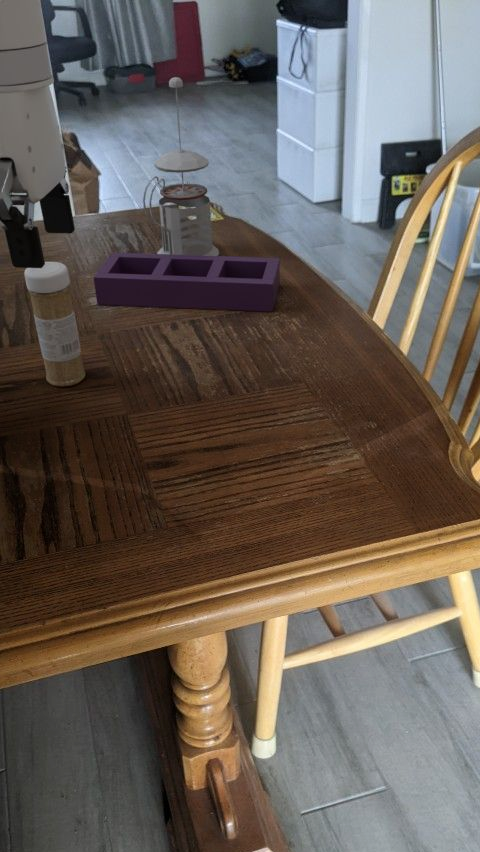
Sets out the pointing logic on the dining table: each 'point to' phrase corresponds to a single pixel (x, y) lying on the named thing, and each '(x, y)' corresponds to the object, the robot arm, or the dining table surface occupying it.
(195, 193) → the french press
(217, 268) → the compartment tray
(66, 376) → the sprinkles bottle
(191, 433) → the dining table surface
